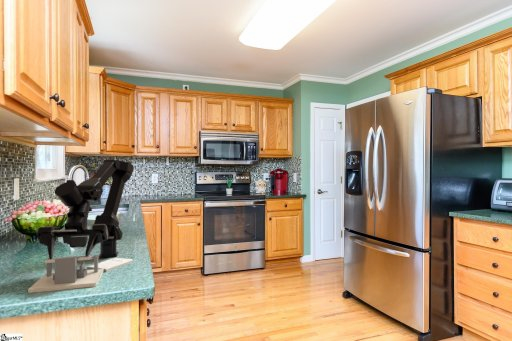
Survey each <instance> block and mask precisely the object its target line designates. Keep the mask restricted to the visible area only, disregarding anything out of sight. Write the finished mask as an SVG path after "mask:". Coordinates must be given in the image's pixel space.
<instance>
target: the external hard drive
mask: <svg viewBox="0 0 512 341" xmlns="http://www.w3.org/2000/svg"><path fill="white" fill-rule="evenodd" d="M133 262H134V260H133V259H132V258H124V257H112V258H110V259H107V260H104V261H101V262H98V269H104V272H103V273H107V272H110V271H113V270H116V269H119V268H121V267H124V266H127V265H128V264H132V263H133ZM86 269H87V270H93V269H94V264H92V265H89V266H87V267H86Z"/></svg>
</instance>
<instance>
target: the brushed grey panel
mask: <svg viewBox="0 0 512 341" xmlns="http://www.w3.org/2000/svg"><path fill="white" fill-rule="evenodd" d="M55 258H56V257H55ZM55 258H52V259H51V260H50V259H49V260H47V259H45V260H44V264H47V263H52V264H53V263H55ZM89 260H90V261H94V255H89V256H88V257H85V255H83V256H77V262H78V261H89Z"/></svg>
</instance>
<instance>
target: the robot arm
mask: <svg viewBox="0 0 512 341" xmlns="http://www.w3.org/2000/svg"><path fill="white" fill-rule="evenodd" d="M134 170H135V168H134V165H133V164H132V163H131V161H123V160H120V159H117V158H106V159H105V160H104V161H103V163H102V165H100V167H99V168H98V169H97V170H96V171H95V172H94V174H93V175H92V176H91V177H90V178H89V179H86V180H83V181H81V182H80V183H79V184H78V185H77V183H76V181H75V180H74V179H67V180H66V182H63V183H61V184H60V185H58V186H57V187H55V189H54V194H55V196H56V197H57V198H58V199H59V200H60V201H61V203H62V204H63V205H64V206H65V207H67V208H68V207H69V210H68V212H67V213H66V221H65V222H64V225H63V227H64V228H63V229H55V226H54V225H50V226H49V225H47V226H39V227H37V229H36V232H35V234H36V237H37V239H38V241H39V243H40V244H41V245H44V246H46V247H47V252H48V258H49V259H50V260H51V259H53V257H54V254H55V253H54V252H55V246H56V245H57V243H56V242H57V238H62V243H63V244H67V245H69V247H70V248H73V249H75V248H86V249H85V253H84V256H85V257H88V256H90V254H91V252H92V251H93V250H94V248H95V247H96V245H97V244H100V246H99V247H100V248H99V250H100V251H99V254H98V259H102V258H117V256H118V255H119V251H117V250H118V249H117V247H118V246H117V244H118V243H117V241H121V240H122V239H123V232H122V229H121V228H120V227H119V226H120V222H119V219H118V216H117V215H118V211H119V208H120V204H121V201H122V200H121V199H122V195H123V192H124V188H125V185H126V183H127V182H128V181H129V180H130V179H131V177H132V175H133V173H134ZM110 178H111V180H112V181H111V184H110V187H109V191H108V194H107V198H106V201H105V203H104V204H105V205H104V208H103V211H102V213H101V214H97V215H96V216H95V217H94V218H95V219H94V223H93V224H92V227H91V229H88V220H89V219H88V218H89V213H90V212H93V208H92V207H91V203H90V201H91V202H92V201H93V202H97V201H98V200H99V199H100V198H101V196H102V194H103V192H104V190H103V187H104V186H105V184H106V183H107V181H108V180H109V179H110Z"/></svg>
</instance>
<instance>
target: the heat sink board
mask: <svg viewBox="0 0 512 341" xmlns="http://www.w3.org/2000/svg"><path fill="white" fill-rule="evenodd" d="M93 256H94V259H93V265H94V269H93V270H87V268H85V267H86V266H85V264H86V263H85V261H84V262H82V263H81V264H80V265H79V266H78V261H77V257H78V256H77V255H72V256H71V255H69V256H57V257H55V262H54V272H53V263H46V273H45V274H43V276H42V277H40V278H39V279H38V280H37V281H36V282H35V283H34V284H32V285H31V286H30V287H29V288H28V291H27V292H28V294H29V293H31V294H33V293H41V292H42V293H43V292H52V291H54V292H55V291H63V290H64V291H65V290H71V289H72V290H73V289H83V288H84V289H85V288H93V287H96V286H97V285H98V283H99V282H100V279H101V277H102V275H103V274H104V273H105V272H104V269H98V263H99V258H98V256H99V254H94V255H93ZM46 260H49V257H48V258H47V259H46Z"/></svg>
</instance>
